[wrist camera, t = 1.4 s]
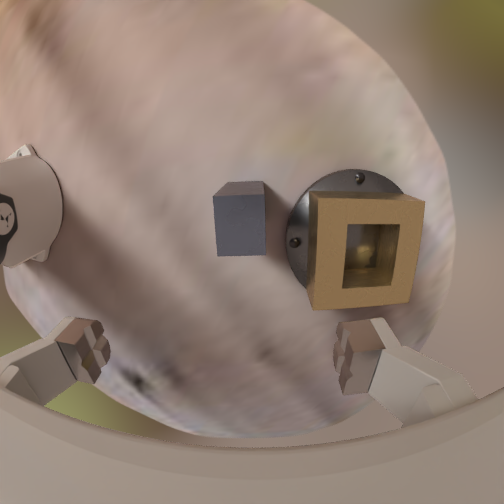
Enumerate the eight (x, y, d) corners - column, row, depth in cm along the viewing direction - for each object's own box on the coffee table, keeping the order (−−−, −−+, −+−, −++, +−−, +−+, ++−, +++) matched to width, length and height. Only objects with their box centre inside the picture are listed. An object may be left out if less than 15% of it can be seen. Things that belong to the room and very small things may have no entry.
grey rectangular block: (229, 224, 32) (217, 256, 23) (227, 182, 30) (212, 196, 21) (264, 223, 32) (266, 255, 23) (262, 181, 30) (264, 194, 21)
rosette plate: (284, 301, 36) (289, 330, 30) (284, 167, 30) (291, 171, 24) (400, 294, 35) (419, 317, 29) (416, 173, 29) (443, 180, 23)
